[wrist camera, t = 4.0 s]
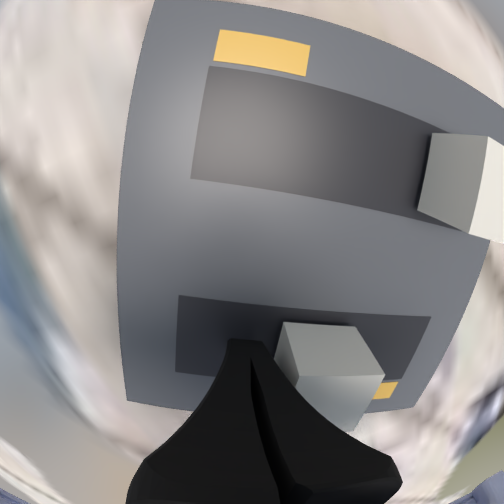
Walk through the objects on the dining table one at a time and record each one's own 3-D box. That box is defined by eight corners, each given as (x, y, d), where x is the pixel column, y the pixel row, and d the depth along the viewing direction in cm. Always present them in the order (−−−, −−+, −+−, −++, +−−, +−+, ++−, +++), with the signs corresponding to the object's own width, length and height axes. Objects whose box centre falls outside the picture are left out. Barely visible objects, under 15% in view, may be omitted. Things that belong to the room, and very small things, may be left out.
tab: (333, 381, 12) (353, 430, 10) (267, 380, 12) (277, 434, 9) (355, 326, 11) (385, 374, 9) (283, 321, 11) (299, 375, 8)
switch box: (400, 386, 16) (413, 407, 15) (135, 374, 15) (126, 400, 13) (486, 114, 11) (512, 114, 9) (165, 18, 9) (154, -2, 7)
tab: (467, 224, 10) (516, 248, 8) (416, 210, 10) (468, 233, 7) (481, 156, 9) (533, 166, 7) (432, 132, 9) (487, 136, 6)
